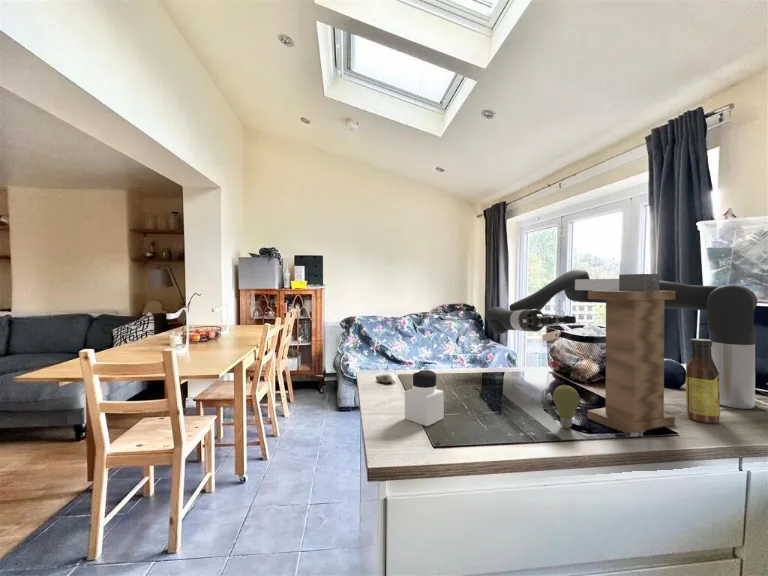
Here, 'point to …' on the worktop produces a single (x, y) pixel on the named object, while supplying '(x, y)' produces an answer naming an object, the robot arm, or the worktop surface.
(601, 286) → the grey metal bar
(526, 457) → the worktop surface
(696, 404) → the sauce bottle
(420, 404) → the medicine bottle
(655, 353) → the stand
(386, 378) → the worktop surface
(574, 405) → the light bulb
